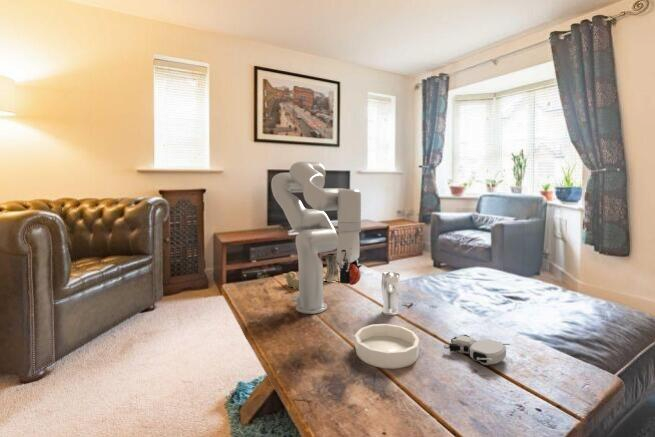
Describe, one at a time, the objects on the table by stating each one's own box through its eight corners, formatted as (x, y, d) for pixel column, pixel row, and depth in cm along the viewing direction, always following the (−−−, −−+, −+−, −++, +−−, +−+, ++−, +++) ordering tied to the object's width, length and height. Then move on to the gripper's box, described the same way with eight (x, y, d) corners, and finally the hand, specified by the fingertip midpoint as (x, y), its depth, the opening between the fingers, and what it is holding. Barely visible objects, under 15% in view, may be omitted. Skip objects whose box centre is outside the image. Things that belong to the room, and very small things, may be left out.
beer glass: (399, 316, 122) (400, 277, 121) (380, 315, 124) (381, 276, 122) (399, 309, 129) (400, 272, 128) (381, 308, 130) (381, 271, 129)
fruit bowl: (347, 360, 92) (346, 344, 92) (366, 333, 109) (366, 320, 108) (412, 374, 85) (412, 358, 84) (422, 343, 101) (422, 329, 101)
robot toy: (441, 356, 96) (494, 374, 84) (440, 341, 95) (494, 357, 84) (461, 342, 104) (512, 357, 92) (460, 328, 103) (512, 342, 92)
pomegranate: (342, 294, 106) (367, 276, 104) (328, 275, 106) (353, 257, 105) (345, 289, 113) (368, 272, 111) (332, 272, 114) (355, 255, 112)
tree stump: (326, 283, 164) (326, 257, 162) (319, 278, 173) (319, 253, 171) (344, 281, 167) (344, 255, 166) (337, 276, 176) (337, 251, 175)
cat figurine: (294, 279, 151) (283, 267, 160) (288, 292, 152) (277, 279, 161) (308, 280, 156) (296, 268, 165) (302, 294, 157) (291, 281, 167)
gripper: (347, 223, 117) (348, 272, 119) (327, 230, 101) (328, 286, 103) (368, 224, 114) (368, 274, 115) (350, 231, 98) (350, 288, 100)
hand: (349, 279), depth 109 cm, fingers closed on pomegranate, 7 cm apart
